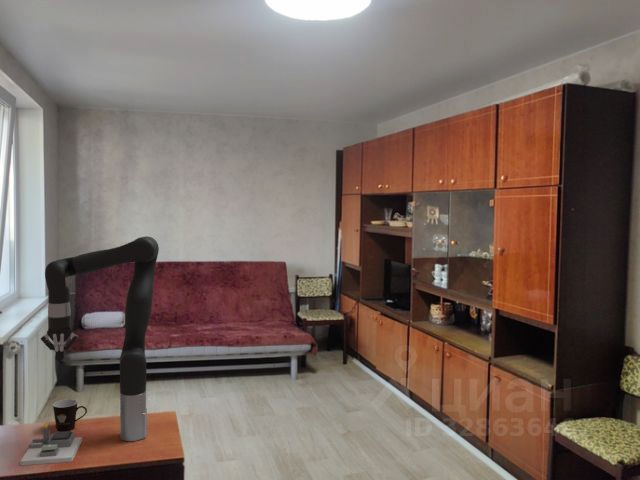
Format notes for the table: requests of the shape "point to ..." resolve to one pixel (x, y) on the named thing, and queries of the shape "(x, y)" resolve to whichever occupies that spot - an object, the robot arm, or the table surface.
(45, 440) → the paddle slider
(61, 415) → the coffee mug
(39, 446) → the panel
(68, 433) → the push button
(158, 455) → the table surface
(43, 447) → the rocker switch
